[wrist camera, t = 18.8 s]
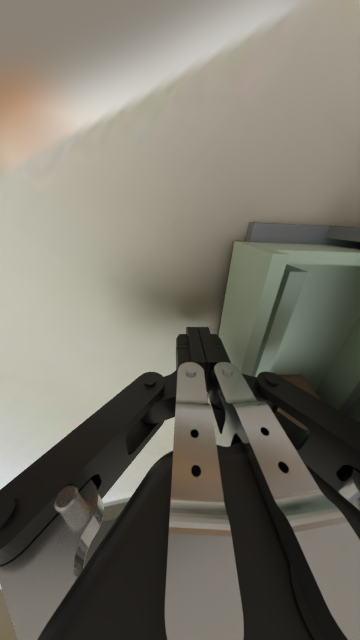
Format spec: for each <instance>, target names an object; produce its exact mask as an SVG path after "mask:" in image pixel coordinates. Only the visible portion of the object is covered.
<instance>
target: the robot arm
mask: <svg viewBox="0 0 360 640" xmlns="http://www.w3.org/2000/svg"><path fill="white" fill-rule="evenodd" d="M207 392H208V394H209V401H208V400H207ZM278 407H279V408H280V409H282V410H283V411H285V412H286V413H287V414H289V415H290V416H292V417H293V418H295V419H296V420H298V421H299V422H300V423H302V424H303V425H305V426H306V427H307V428H308V430H304V429H302V428H301V427H299V426H298V425H296V424H295V423H294V422H292V421H291V420H289V419H288V418H287V417H285V416H284V415H282V414H281V413H280V412H278V411H277V409H278ZM173 417H175V428H174V446H173V451H171V452H169V453H167V454H166V455H164V456H163V457H161V458H160V459H159V460H158V461H157V462H156V463H155V464H154V465H153V466H152V467H151V469H150V470H149V471H148V473H147V474H146V476H145V477H144V479H143V480H142V482H141V483H140V485H139V486H138V488H137V489H136V491H135V492H134V494H133V495H132V497H131V498H130V500H129V501H128V503H127V504H126V506H125V507H124V509H123V510H122V512H121V513H120V515H119V516H118V518H117V519H116V521H115V522H114V524H113V525H112V527H111V528H110V530H109V531H108V533H107V534H106V536H105V538H104V539H103V541H102V542H101V544H100V545H99V546H98V548H97V549H96V551H95V552H94V554H93V556H92V557H91V558H90V560H89V561H88V563H87V564H86V566H85V567H84V561H85V557H86V553H87V550H88V548H89V546H90V543H91V541H92V540H93V538H94V536H95V535H96V533H97V531H98V529H99V527H100V525H101V522H102V518H103V512H104V506H103V502H102V498H103V497H104V496H105V494H106V493H107V492H108V491H109V490H110V488H111V487H112V486H113V485H114V483H115V482H116V481H117V480H118V478H119V477H120V476H121V475H122V474H123V472H124V471H125V470H126V469H127V467H128V466H129V465H130V464H131V462H132V461H133V460H134V459H135V458H136V456H137V455H138V454H139V453H140V451H141V450H142V449H143V448H144V446H145V445H146V444H147V443H148V442H149V440H150V439H151V438H152V437H153V435H154V434H155V433H156V432H157V430H158V429H159V428H160V427H161V426H162V424H163V423H164V420H167V419H170V418H173ZM213 423H214V424H213ZM214 426H215V430H216V433H217V436H218V443H219V445H216V438H215V431H214ZM83 567H84V569H83ZM0 584H1V587H2V590H3V594H4V597H5V600H6V603H7V607H8V610H9V613H10V616H11V619H12V623H13V626H14V629H15V632H16V635H17V639H18V640H360V423H359V422H357V421H356V420H354V419H352V418H351V417H349V416H347V415H345V414H344V413H342V412H340V411H339V410H337V409H335V408H333V407H332V406H330V405H328V404H327V403H325V402H323V401H321V400H320V399H318V398H316V397H315V396H313V395H311V394H309V393H308V392H306V391H304V390H303V389H301V388H299V387H297V386H296V385H294V384H292V383H291V382H289V381H287V380H285V379H284V378H282V377H280V376H279V375H277V374H275V373H272V372H261V373H259V374H258V376H257V377H254V376H249V375H245V374H243V373H241V372H240V370H239V369H238V367H236V366H235V365H233V364H231V361H230V359H229V357H228V354H227V352H226V350H225V347H224V345H223V343H222V340H221V338H219V337H218V336H217V335H216V334H211V333H210V330H209V328H208V327H198V328H197V327H187V328H186V334H179V335H178V337H177V339H176V371H175V372H174V373H172V374H170V375H168V376H165V377H163V376H162V375H160V374H159V373H156V372H147V373H144V374H142V375H141V376H139V377H138V378H137V379H136V380H135V381H133V382H132V383H131V384H130V385H128V386H127V387H126V388H125V389H124V390H122V391H121V392H120V393H119V394H117V395H116V396H115V397H114V398H113V399H111V400H110V401H109V402H108V403H106V404H105V405H104V406H103V407H101V408H100V409H99V410H98V411H97V412H95V413H94V414H93V415H92V416H90V417H89V418H88V419H87V420H86V421H84V422H83V423H82V424H81V425H79V426H78V427H77V428H76V429H74V430H73V431H72V432H71V433H70V434H68V435H67V436H66V437H65V438H63V439H62V440H61V441H60V442H59V443H57V444H56V445H55V446H54V447H52V448H51V449H50V450H49V451H47V452H46V453H45V454H44V455H43V456H41V457H40V458H39V459H38V460H36V461H35V462H34V463H33V464H32V465H30V466H29V467H28V468H27V469H25V470H24V471H23V472H22V473H20V474H19V475H18V476H17V477H16V478H14V479H13V480H12V481H11V482H9V483H8V484H7V485H6V486H5V487H3V488H2V489H1V490H0Z"/></svg>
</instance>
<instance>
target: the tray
mask: <svg viewBox="0 0 360 640" xmlns="http://www.w3.org/2000/svg"><path fill="white" fill-rule="evenodd" d="M218 337H219V338H221V340H222V343H223V345H224V347H225V350H226V352H227V354H228V357H229V359H230V361H231V364H233V365H235V366H236V367H238V369H239V370H240V372H241V373H243V374H245V375H249V376H254V377H257V376H258V374H259V373H261V372H272V373H275V374H277V375H301V376H302V377H303V378H304V380H305V381H306V382H307V383H308V384H309V386H310V387H311V388H312V389H313V390H314V392H315V393H316V394H317V395H318V396H319V397H320V399H321V400H322V401H323V402H325V403H327V404H328V405H330V406H332V407H333V408H335V409H337V410H339V411H340V412H342V413H344V414H345V415H347V416H349V417H351V418H352V419H354V420H356V421H357V422H359V423H360V246H346V245H319V244H292V243H264V242H237V241H234V247H233V253H232V258H231V264H230V270H229V276H228V282H227V288H226V294H225V300H224V306H223V312H222V317H221V323H220V329H219V335H218ZM208 401H209V394H208ZM213 424H214V423H213ZM214 431H215V438H216V445H219V443H218V436H217V433H216V430H215V426H214Z"/></svg>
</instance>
